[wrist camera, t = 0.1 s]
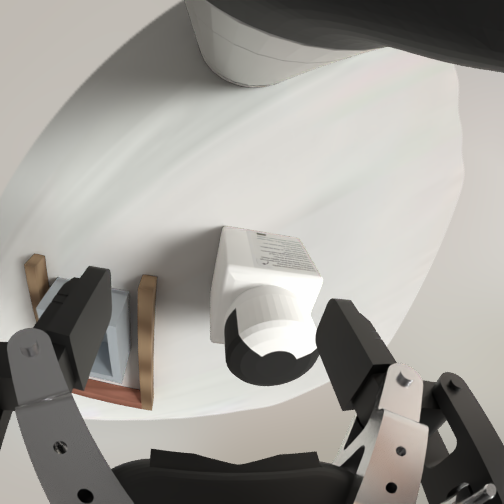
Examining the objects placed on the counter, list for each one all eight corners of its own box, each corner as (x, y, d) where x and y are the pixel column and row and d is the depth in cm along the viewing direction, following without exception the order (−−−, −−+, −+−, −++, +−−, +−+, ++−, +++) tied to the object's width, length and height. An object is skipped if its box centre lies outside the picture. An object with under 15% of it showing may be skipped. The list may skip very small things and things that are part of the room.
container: (280, 300, 32) (309, 397, 21) (210, 292, 31) (209, 394, 19) (300, 237, 29) (350, 324, 17) (222, 224, 27) (227, 314, 16)
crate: (58, 276, 28) (35, 308, 23) (129, 290, 30) (115, 327, 25) (68, 333, 32) (53, 366, 27) (131, 347, 34) (122, 383, 28)
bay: (34, 253, 26) (24, 264, 24) (157, 276, 29) (152, 290, 27) (63, 377, 36) (59, 389, 33) (153, 397, 39) (151, 410, 36)
